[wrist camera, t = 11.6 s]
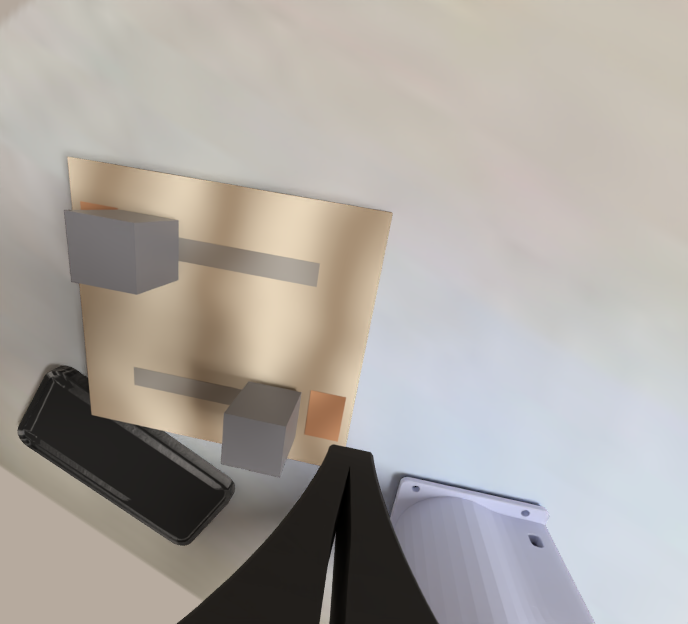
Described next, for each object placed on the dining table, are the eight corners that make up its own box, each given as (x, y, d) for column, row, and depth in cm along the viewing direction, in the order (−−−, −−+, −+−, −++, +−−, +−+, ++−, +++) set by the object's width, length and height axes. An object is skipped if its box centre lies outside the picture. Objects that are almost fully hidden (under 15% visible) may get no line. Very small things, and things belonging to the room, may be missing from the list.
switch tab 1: (178, 220, 16) (134, 223, 13) (178, 280, 17) (137, 294, 14) (120, 209, 16) (64, 209, 13) (123, 269, 17) (71, 281, 14)
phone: (50, 364, 22) (236, 494, 23) (66, 356, 23) (242, 481, 24) (12, 437, 24) (183, 551, 26) (28, 428, 25) (191, 537, 27)
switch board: (391, 212, 17) (392, 213, 15) (344, 447, 22) (340, 470, 20) (100, 162, 18) (66, 156, 16) (115, 397, 23) (91, 415, 21)
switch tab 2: (301, 392, 18) (286, 426, 15) (295, 436, 19) (279, 477, 16) (248, 381, 18) (223, 413, 15) (245, 426, 19) (220, 464, 16)
